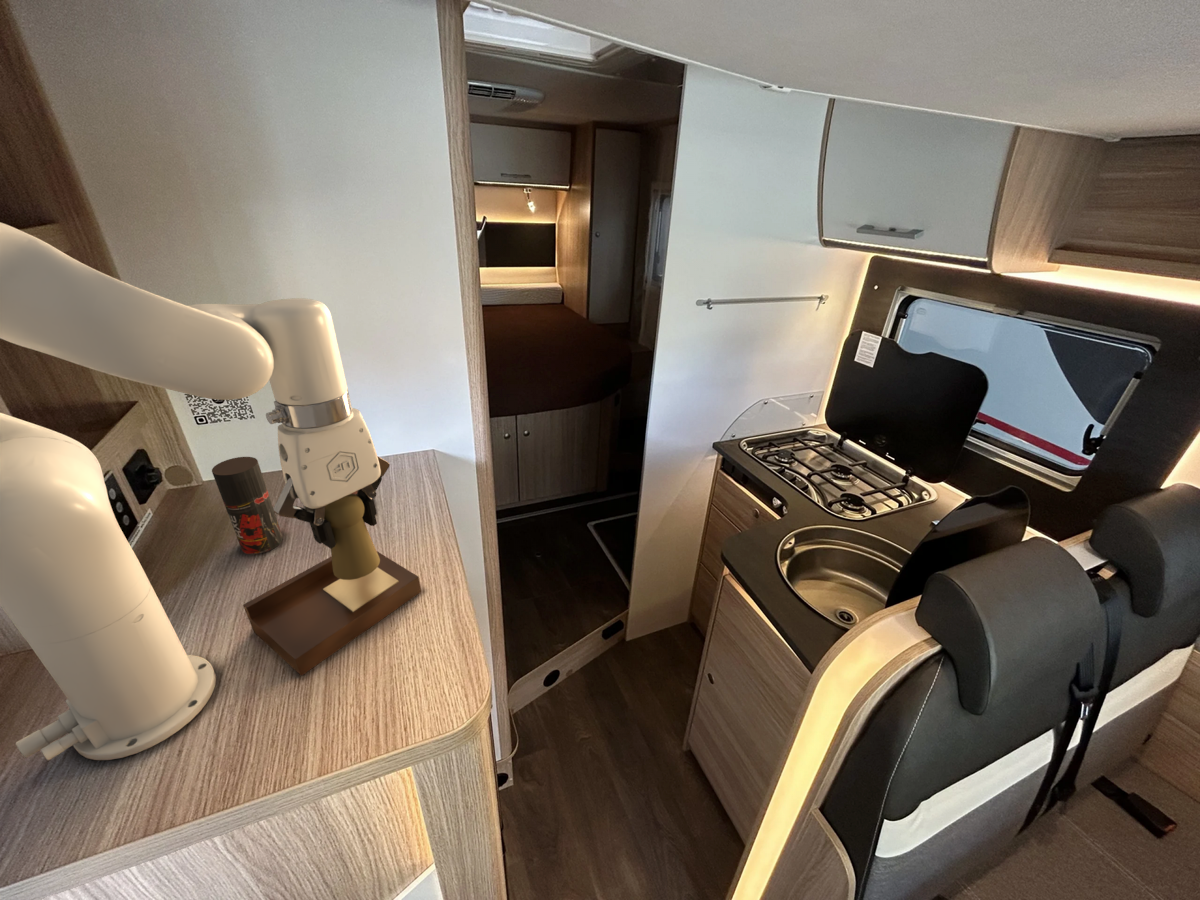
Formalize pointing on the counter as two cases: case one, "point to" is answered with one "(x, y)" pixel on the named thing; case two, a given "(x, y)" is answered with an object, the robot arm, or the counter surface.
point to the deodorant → (248, 504)
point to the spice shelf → (327, 610)
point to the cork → (350, 539)
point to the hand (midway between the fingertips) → (348, 531)
